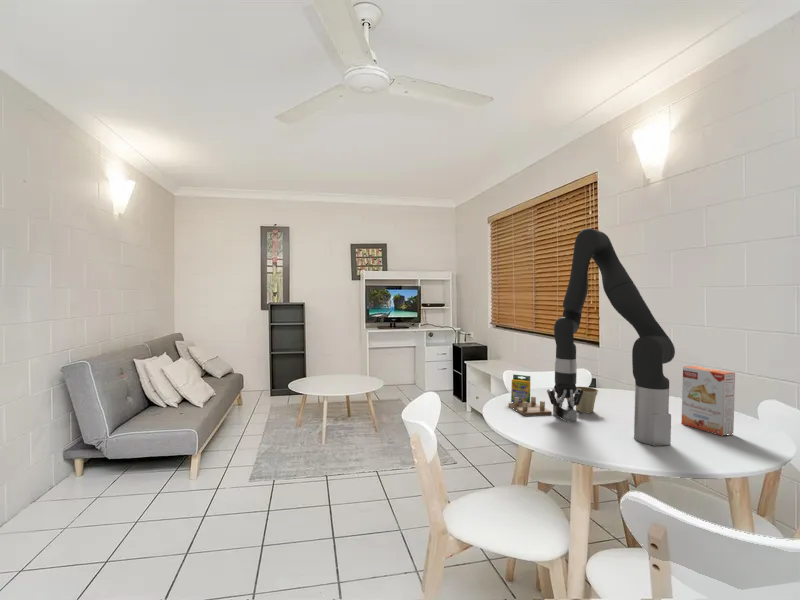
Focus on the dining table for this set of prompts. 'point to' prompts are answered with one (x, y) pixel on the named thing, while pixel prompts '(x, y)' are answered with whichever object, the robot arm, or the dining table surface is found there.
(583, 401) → the flower pot
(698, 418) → the cracker box
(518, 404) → the rack
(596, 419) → the dining table surface
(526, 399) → the crayon box
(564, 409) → the translucent grey block
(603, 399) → the dining table surface
